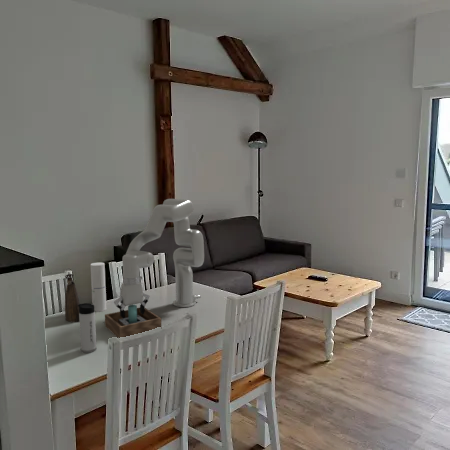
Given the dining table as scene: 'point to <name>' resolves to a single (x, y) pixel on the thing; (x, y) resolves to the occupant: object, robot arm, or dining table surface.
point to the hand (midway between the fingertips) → (132, 315)
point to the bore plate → (126, 321)
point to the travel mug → (87, 327)
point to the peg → (132, 313)
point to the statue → (71, 301)
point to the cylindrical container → (98, 286)
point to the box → (131, 329)
